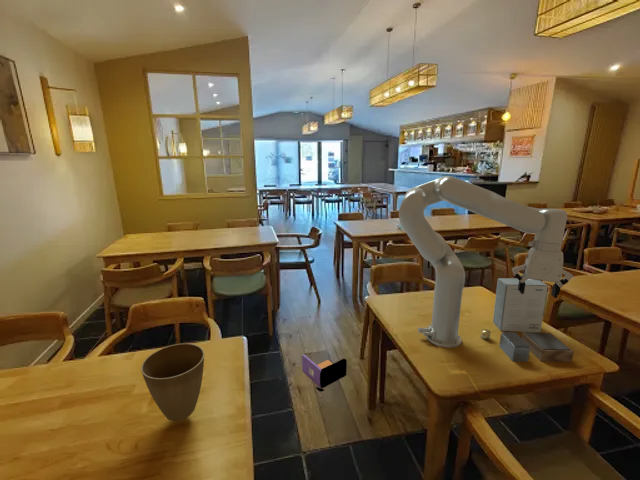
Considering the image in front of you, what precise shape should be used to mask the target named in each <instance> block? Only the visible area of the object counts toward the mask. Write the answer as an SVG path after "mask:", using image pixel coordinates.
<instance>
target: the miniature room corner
mask: <svg viewBox="0 0 640 480" xmlns="http://www.w3.org/2000/svg"><path fill="white" fill-rule="evenodd" d="M301 356H302V357H301V359H302V360H301V366H302V370H301V371H302V373H304V375H306V377H308V378H309V379H310V380H311V381H312V383H314V384H315V385H316V386H315V388H316V390H317V391H318V392H320V393H321V392H325V389H324V388H326V387H328V386H330V385H332V384H333V383H335V382H337V381H339V380H341V379H342V378H345V377H346V376H347V370H348V367H347V364H348V363H347V362H348V361H347V359H346V358H343V359H340V360H338V361H336V362H334V363H333V362H332V361H330V360H329V359H327V360H325V361H322V362H320V363H317V364H316V363H315V362H314V361H313V360H311V358H309V357H308V356H307V355H306V354H302V355H301Z"/></svg>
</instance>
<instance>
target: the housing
mask: <svg viewBox="0 0 640 480" xmlns="http://www.w3.org/2000/svg"><path fill="white" fill-rule="evenodd" d="M499 339H500V340H499V349H501V350H502V351H503V352H504V354H505V355H506V356H507V357H508V358H509V359H510V361H512V362H520V363H521V362H523V363H528V362H529V356H530V352H531V351H530V347H529V345H528V344H527V343H526V342H525V341H524V340H523V339H522V338H521V337H520V335H519V334H517V333H516V332H514V331H501V334H500V338H499Z"/></svg>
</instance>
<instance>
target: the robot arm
mask: <svg viewBox="0 0 640 480" xmlns="http://www.w3.org/2000/svg"><path fill="white" fill-rule="evenodd" d="M442 201H443V202H446V203H449V204H451V205H453V206H455V207H456V206H457V207H459V208H461V209H464V210H467V211H469V212H471V213H473V214H476V215H479V216H481V217H484V218H487V219H490V220H493V221H495V222H498V223H500V224H502V225H505V226H507V227H510V228H513V229H515V230H518V231H520V232H523V233H526V234H534V239H532V240H531V241H528V244H527V245H528V246H531V247H530V249H529V250H528V253H527V255H526V257H525V261H524V263H523V264H522V265H518V266H513V267H512V268H511V271H512V273H513V275H514V276H515V278H517V279H518V280H519V285H518V290H519V291H520V293H521V294H524V290H525V281H526V280H528V279H532V280H540V281H542V282H549V283H550V282H551V283H553V284H552V288H551V296H552V297H553V298H554V299H557V298H558V296H560V293H561V292H560V291H561V288H562V287H564V286H565V285H566V284H568V283H569V281H570V280H572V278H574V275H573V274H572V273H571V272H568V271H566V270H565V269H563V268H564V252H563V251H562V250H561V249H562V244H563V239H564V234H565V229H566V225H567V221H568V220H567V219H568V212H567V211H566V210H564V209H560V208H552V207H551V208H540V207H539V208H537V207H532V206H526V205H523V204H521V203H518V202H515V201H513V200H511V199H508V198H506V197H504V196H502V195H501V194H498V193H496V192H494V191H491V190H489V189H486V188H484V187H481V186H479V185H476V184H473V183H470V182H468V181H466V180H462V179H460V178H457V177H455V176H451V175H444V176H441V177H439V178H436V179H434V180H431V181H428V182H425V183H422V184H420V185H416V186H414V187H412V188H409V190H407V191H406V192H405V195H404V197H403V199H402V201H401V204H400V206H399V210H398V221H399V223H400V226H401V228H402V229H403V230H404V232H405V234H406V235H407V236H408V238H409V239H410V240H411V242H412V244H413V245H414V246H415V248H416V249H417V251H418V253H420V255H421V257H422V258H423V259H424V260H426V261H428V262H429V263H430V264H431V266H432V267H433V268H434V271H435V283H434V291H433V303H432V314H431V315H432V316H431V317H432V318H431V324H428V326H427V327H417V328H418V329H417V330H418V331H417V332H418V334H419V333H420V334H422V335H423V336H425V337H426V339H427V341H428V342H430V343H431V344H433V345H435V346H438V347H440V348H441V347H442V348H447V349H448V348H449V349H452V348H453V349H454V348H457V347H460V346H461V345H462V341H463V340H462V337H461V336H460V335H459V327H460V318H461V317H460V316H461V308H462V299H463V298H462V297H463V291H464V287H465V281H466V273H465V268H464V266H463V264H462V262H461V260H460V259H459V257H458V256H457V254H455V252H454V250H453V249H452V248H451V246H450V245H449V244H448V242H447V241H446V240H445V238H444V237H443V236H442V235H441V234H440V233H438V232H436V231H435V230H434V228H433V227H432V225H431V224H430V223H429V221H428V220H427V219H426V217H425V210H426V209H427V207H428V206H432V205H434V204H436V203H439V202H442ZM520 271H523V272H522V273H523V274H521V275H520V274H519V272H520ZM563 275H565V276H564V277H563ZM562 277H563V278H562Z"/></svg>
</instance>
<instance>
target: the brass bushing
mask: <svg viewBox="0 0 640 480" xmlns="http://www.w3.org/2000/svg"><path fill="white" fill-rule="evenodd" d="M491 333H492V332H491V331H490V330H489V329H485V328H483V329H481V334H480V339H482V340H483V341H490V340H491Z"/></svg>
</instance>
